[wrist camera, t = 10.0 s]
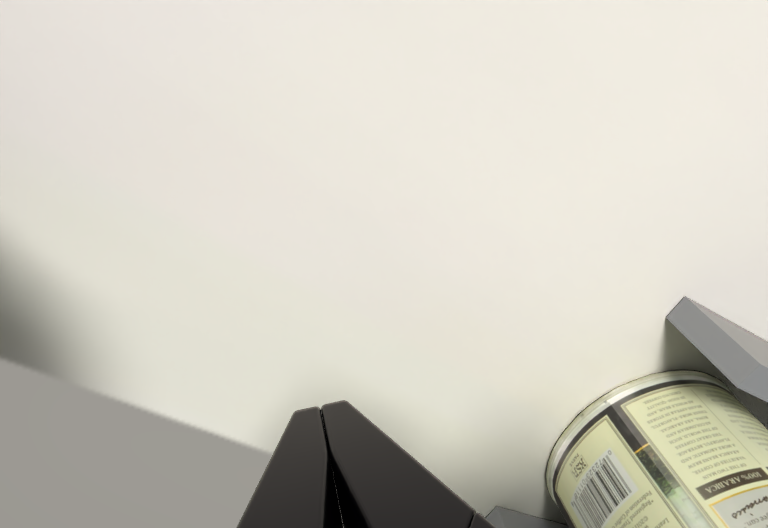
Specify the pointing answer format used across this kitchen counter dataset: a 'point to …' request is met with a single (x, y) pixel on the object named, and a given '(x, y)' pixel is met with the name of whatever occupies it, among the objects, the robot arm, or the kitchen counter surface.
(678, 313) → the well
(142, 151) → the kitchen counter surface
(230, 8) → the kitchen counter surface
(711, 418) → the coffee can
